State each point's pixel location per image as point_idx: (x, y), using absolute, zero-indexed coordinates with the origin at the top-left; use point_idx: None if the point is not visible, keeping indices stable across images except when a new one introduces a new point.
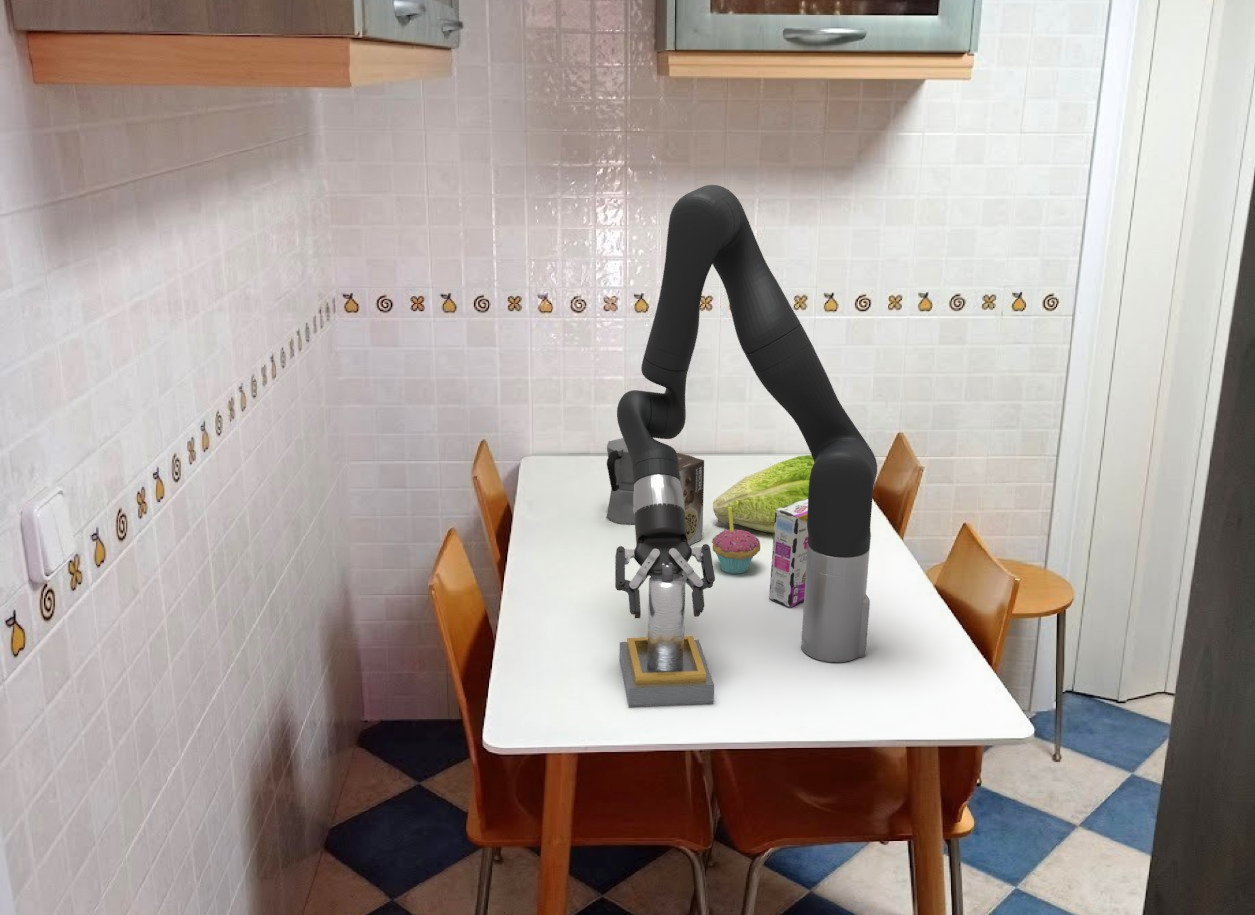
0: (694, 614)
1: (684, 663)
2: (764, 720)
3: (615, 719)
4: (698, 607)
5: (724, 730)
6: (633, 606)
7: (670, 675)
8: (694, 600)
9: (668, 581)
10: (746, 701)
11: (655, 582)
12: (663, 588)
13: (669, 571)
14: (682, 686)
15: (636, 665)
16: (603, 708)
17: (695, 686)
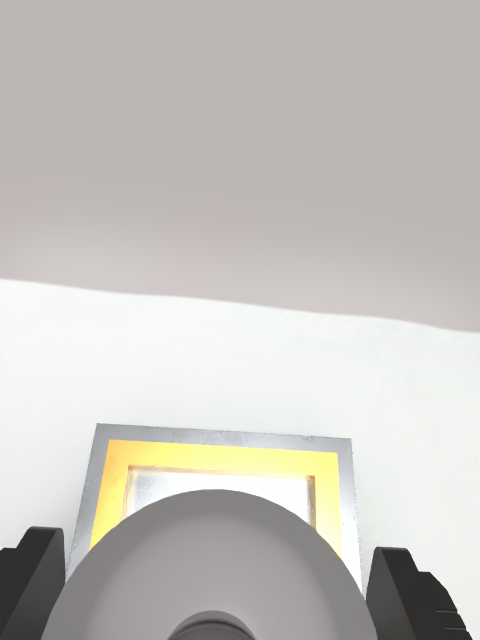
0: (61, 572)
1: None
2: (16, 346)
3: (371, 400)
4: (32, 540)
5: (126, 321)
6: (431, 597)
7: (225, 446)
8: (29, 597)
9: (211, 609)
10: (16, 440)
11: (328, 625)
12: (270, 504)
13: (200, 623)
14: (192, 429)
15: (330, 533)
16: (402, 457)
17: (153, 427)
